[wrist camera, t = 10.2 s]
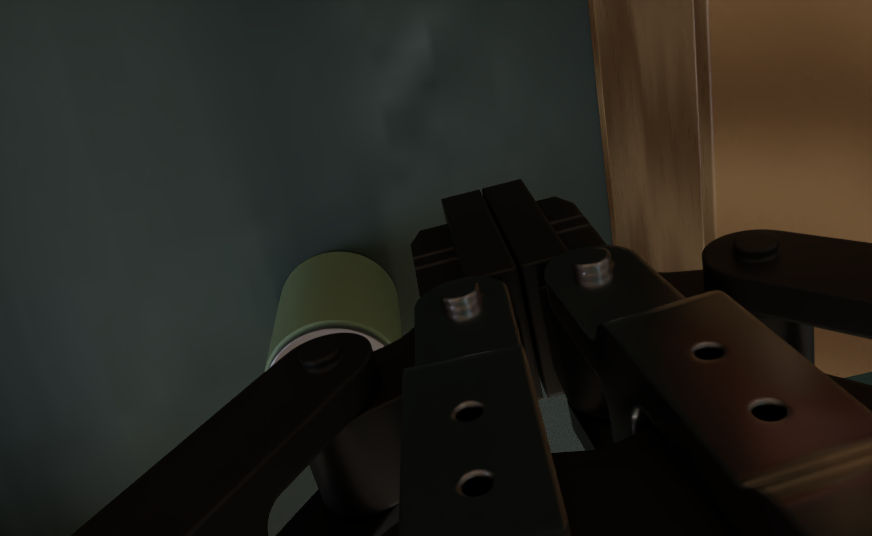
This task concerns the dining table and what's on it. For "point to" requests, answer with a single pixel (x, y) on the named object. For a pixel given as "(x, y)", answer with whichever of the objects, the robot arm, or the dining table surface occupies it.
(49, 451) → the dining table surface
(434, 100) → the dining table surface
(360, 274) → the tin can
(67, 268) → the dining table surface
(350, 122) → the dining table surface
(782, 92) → the cabinet
